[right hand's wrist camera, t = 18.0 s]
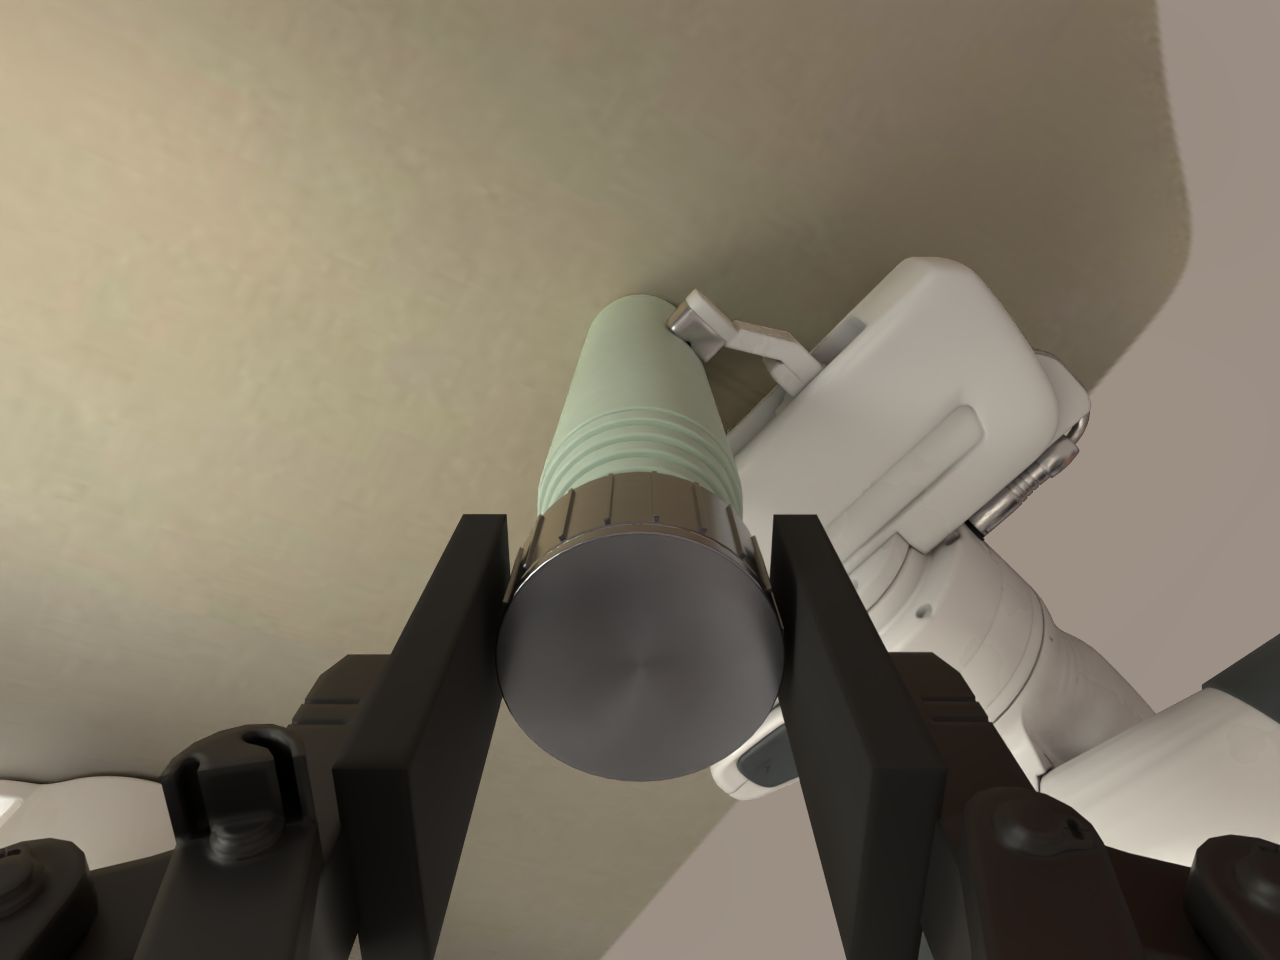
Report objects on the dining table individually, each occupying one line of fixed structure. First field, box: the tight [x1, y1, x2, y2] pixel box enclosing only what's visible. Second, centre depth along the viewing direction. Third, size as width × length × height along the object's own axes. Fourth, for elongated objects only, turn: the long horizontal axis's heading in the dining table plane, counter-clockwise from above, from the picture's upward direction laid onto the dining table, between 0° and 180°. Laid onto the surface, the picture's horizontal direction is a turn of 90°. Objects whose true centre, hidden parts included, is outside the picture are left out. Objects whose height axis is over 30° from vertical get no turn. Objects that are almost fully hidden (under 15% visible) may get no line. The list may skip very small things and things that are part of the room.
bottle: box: [537, 294, 743, 521], centre depth 24 cm, size 4×4×23 cm
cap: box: [495, 471, 786, 782], centre depth 14 cm, size 4×4×3 cm
